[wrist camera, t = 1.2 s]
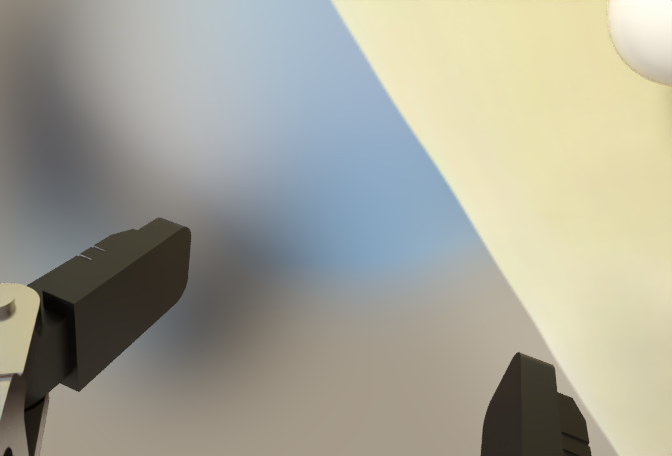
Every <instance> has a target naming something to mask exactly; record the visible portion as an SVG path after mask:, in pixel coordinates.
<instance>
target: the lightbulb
mask: <svg viewBox="0 0 672 456" xmlns="http://www.w3.org/2000/svg"><path fill="white" fill-rule="evenodd" d="M607 26H608V32H609V36H610V39H611V42H612V44H613V47H614V49H615V51H616V52H617V54H618V55H619V57H620V58H621V60H622V61H623V62H624V63H625V64H626V65H627V66H628V67H629V68H630V69H631V70H632V71H634V72H635V73H637V74H638V75H640V76H641V77H643V78H645V79H647V80H649V81H652V82H655V83H657V84H661V85H665V86H669V87H672V0H608V6H607Z"/></svg>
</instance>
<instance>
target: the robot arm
mask: <svg viewBox="0 0 672 456" xmlns="http://www.w3.org/2000/svg"><path fill="white" fill-rule="evenodd" d="M190 245H191V232H190V229H189V228H187V227H185V226H182V225H179V224H177V223H174V222H171V221H168V220H166V219H163V218H157V219H155V220H153V221H152V222H150V223H148V224H147V225H145V226H144V227H142V228H140V229H139V230H135V229H131V230H128V231H124V232H120V233H117V234H113V235H110V236H109V237H107V238H105V239H104V240H102V241H101V242H99V243H97V244H95V245H94V247H93V248H92V247H90V248H89V249H87V250H85V251H84V252H82V253H81V254H80V256H75V257H74V258H72V259H71V260H69V261H67V262H65V263H64V264H62V265H60V266H59V267H57V268H55V269H54V270H52V271H50V272H49V273H47V274H45V275H44V276H42V277H40V278H39V279H37V280H35V281H34V282H32V283H30V284H29V285H27V286H24V285H21V284H15V283H0V456H40V451H41V445H42V439H43V434H44V428H45V423H46V417H47V411H48V405H49V392H50V391H51V390H52V389H53V388H54V387H56V386H57V385H58V384H59V383H61V384H63V385H65V386H67V387H69V388H71V389H74V390H76V391H78V392H79V391H81V390H82V389H83V388H84V387H85V386H86V385H87V384H88V383H89V382H90V381H91V380H93V379H94V378H95V377H96V376H97V375H98V374H99V373H100V372H101V371H102V370H104V369H105V368H106V367H107V366H108V365H109V364H110V363H111V362H112V361H113V360H114V359H115V358H117V357H118V356H119V355H120V354H121V353H122V352H123V351H124V350H125V349H126V348H128V347H129V346H130V345H131V344H132V343H133V342H134V341H135V340H136V339H137V338H139V336H141V335H142V334H143V333H144V332H145V331H146V330H147V329H148V328H149V327H151V325H153V324H154V323H155V322H156V321H157V320H158V319H159V318H160V317H161V316H163V315H164V314H165V313H166V312H167V311H168V310H169V309H170V308H171V307H172V306H174V305H175V304H176V303H177V302H178V300H179V299H180V298H181V296H182V294H183V292H184V290H185V288H186V285H187V280H188V269H189V257H190ZM588 444H589V438H588V432H587V426H586V421H585V419H584V417H583V415H582V414H581V412H580V410H579V408H578V407H577V405H576V404H575V402H574V400H573V398H571V397H568V396H565V395H563V394H561V393H558V392H557V386H556V375H555V368H554V366H553V365H551V364H549V363H546V362H543V361H541V360H538V359H535V358H533V357H530V356H527V355H524V354H522V353H519V352H518V353H516V354H515V356H514V357H513V359H512V360H511V362H510V365H509V366H508V368H507V370H506V372H505V374H504V376H503V378H502V380H501V382H500V384H499V386H498V388H497V390H496V392H495V394H494V396H493V397H492V399H491V401H490V404H489V406H488V409H487V412H486V415H485V419H484V424H483V433H482V445H481V456H591V450H590V447H589V446H588Z"/></svg>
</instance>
